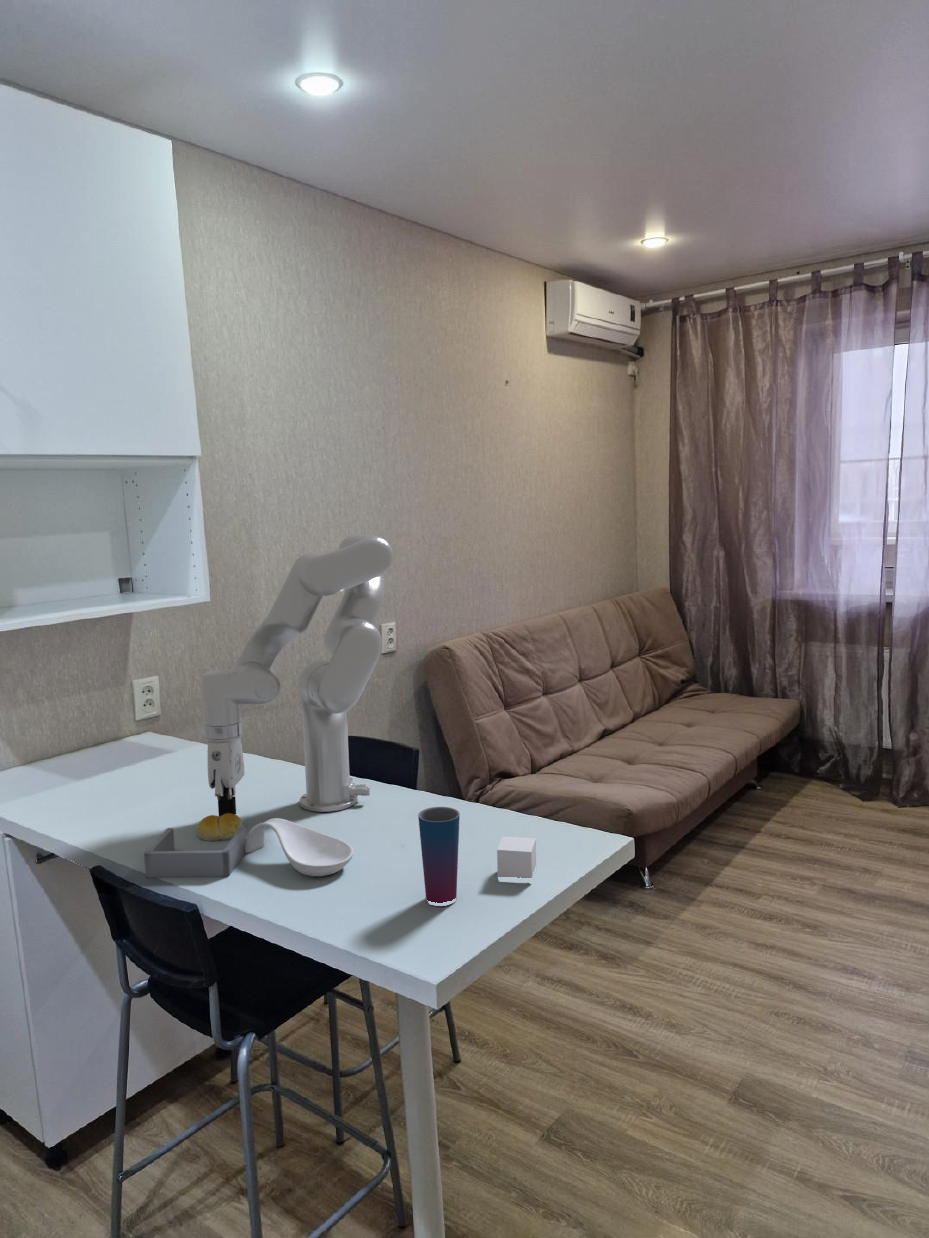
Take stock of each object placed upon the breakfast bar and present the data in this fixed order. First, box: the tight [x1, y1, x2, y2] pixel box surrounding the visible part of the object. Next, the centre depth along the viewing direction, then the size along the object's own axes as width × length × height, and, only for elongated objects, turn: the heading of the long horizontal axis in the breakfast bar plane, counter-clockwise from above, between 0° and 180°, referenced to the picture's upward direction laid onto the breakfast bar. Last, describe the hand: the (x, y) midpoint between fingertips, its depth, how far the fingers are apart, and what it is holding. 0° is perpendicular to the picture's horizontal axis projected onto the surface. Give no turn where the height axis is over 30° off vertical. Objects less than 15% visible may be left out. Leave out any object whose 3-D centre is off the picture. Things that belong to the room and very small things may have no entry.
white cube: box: [496, 836, 537, 878], centre depth 154 cm, size 6×6×6 cm
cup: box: [417, 806, 460, 903], centre depth 145 cm, size 7×7×15 cm
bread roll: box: [196, 813, 244, 842], centre depth 177 cm, size 8×9×4 cm
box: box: [143, 826, 247, 878], centre depth 163 cm, size 15×12×4 cm
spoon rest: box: [244, 817, 354, 877], centre depth 162 cm, size 24×12×7 cm, turn 57°
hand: (227, 815), depth 183 cm, fingers closed
